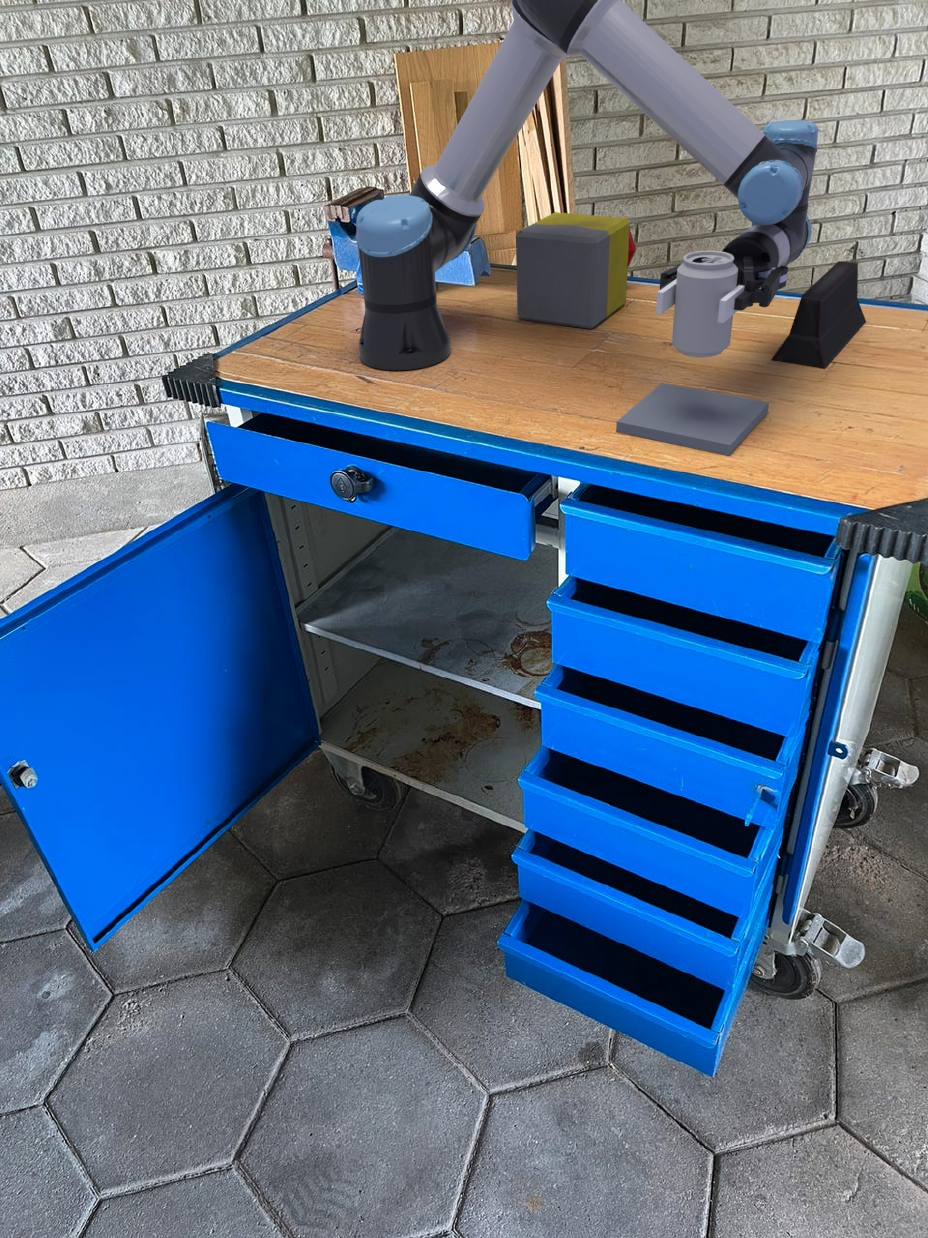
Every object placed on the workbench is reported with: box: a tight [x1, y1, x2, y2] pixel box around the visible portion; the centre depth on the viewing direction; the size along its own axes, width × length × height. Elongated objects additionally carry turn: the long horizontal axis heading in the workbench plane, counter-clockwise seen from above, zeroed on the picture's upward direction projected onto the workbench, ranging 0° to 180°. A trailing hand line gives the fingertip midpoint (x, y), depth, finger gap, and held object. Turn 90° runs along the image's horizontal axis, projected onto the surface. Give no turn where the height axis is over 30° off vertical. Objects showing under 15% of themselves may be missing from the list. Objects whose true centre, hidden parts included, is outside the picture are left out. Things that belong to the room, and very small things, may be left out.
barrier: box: [770, 260, 867, 370], centre depth 153 cm, size 24×9×10 cm, turn 147°
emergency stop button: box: [515, 211, 637, 330], centre depth 171 cm, size 15×24×15 cm, turn 149°
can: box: [671, 250, 738, 358], centre depth 123 cm, size 8×8×12 cm
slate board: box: [615, 382, 770, 456], centre depth 132 cm, size 16×15×2 cm
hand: (690, 307), depth 119 cm, fingers closed on can, 7 cm apart
